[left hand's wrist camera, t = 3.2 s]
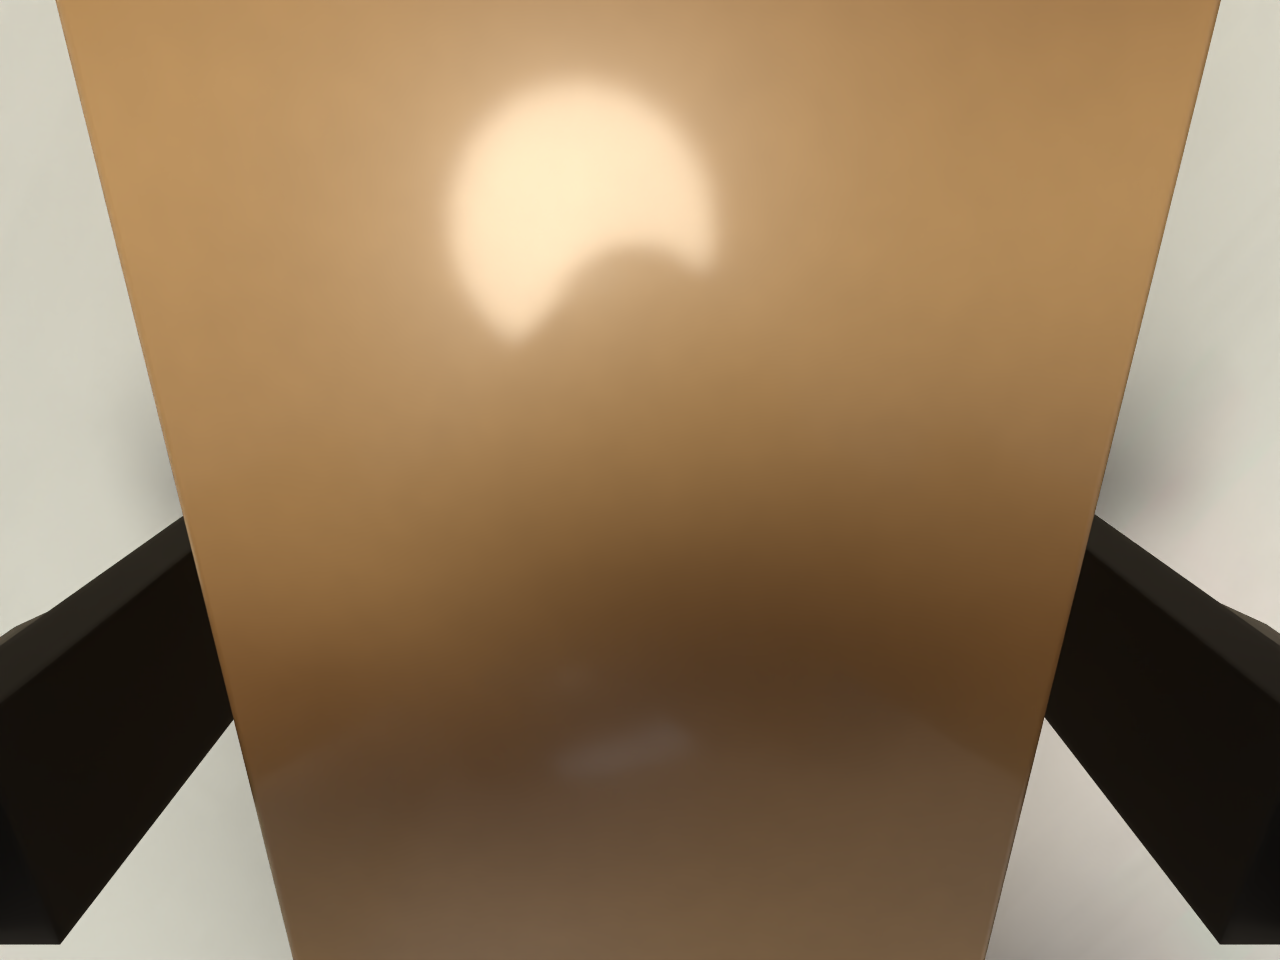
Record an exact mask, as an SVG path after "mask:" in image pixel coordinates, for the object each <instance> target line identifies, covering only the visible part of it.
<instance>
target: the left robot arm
mask: <svg viewBox="0 0 1280 960" xmlns="http://www.w3.org/2000/svg"><path fill="white" fill-rule="evenodd" d="M1044 717H1045V718H1046V720H1047V721H1048V722H1049V723H1050V725H1051V726H1052V727H1053V729H1054V730H1055V731H1056V732H1057V734H1058V735H1059V736H1060V738H1061V739H1062V740H1063V742H1064V743H1065V744H1066V745H1067V747H1068V748H1069V749H1070V751H1071V752H1072V753H1073V755H1074V756H1075V757H1076V758H1077V760H1078V761H1079V762H1080V764H1081V765H1082V766H1083V767H1084V769H1085V770H1086V771H1087V773H1088V774H1089V775H1090V777H1091V778H1092V779H1093V780H1094V782H1095V783H1096V784H1097V786H1098V787H1099V788H1100V790H1101V791H1102V792H1103V793H1104V795H1105V796H1106V797H1107V799H1108V800H1109V801H1110V803H1111V804H1112V805H1113V806H1114V808H1115V809H1116V810H1117V812H1118V813H1119V814H1120V815H1121V817H1122V818H1123V819H1124V821H1125V822H1126V823H1127V825H1128V826H1129V827H1130V828H1131V830H1132V831H1133V832H1134V834H1135V835H1136V836H1137V838H1138V839H1139V840H1140V841H1141V843H1142V844H1143V845H1144V847H1145V848H1146V849H1147V851H1148V852H1149V853H1150V854H1151V856H1152V857H1153V858H1154V860H1155V861H1156V862H1157V863H1158V865H1159V866H1160V867H1161V869H1162V870H1163V871H1164V873H1165V874H1166V875H1167V876H1168V878H1169V879H1170V880H1171V882H1172V883H1173V884H1174V886H1175V887H1176V888H1177V889H1178V891H1179V892H1180V893H1181V895H1182V896H1183V897H1184V899H1185V900H1186V901H1187V902H1188V904H1189V905H1190V906H1191V908H1192V909H1193V910H1194V911H1195V913H1196V914H1197V915H1198V917H1199V918H1200V919H1201V921H1202V922H1203V923H1204V924H1205V926H1206V927H1207V928H1208V930H1209V931H1210V932H1211V934H1212V935H1213V936H1214V937H1215V939H1216V940H1217V941H1218V943H1219V944H1280V633H1278V632H1277V631H1275V630H1274V629H1272V628H1271V627H1269V626H1268V625H1267V624H1264V623H1262V622H1260V621H1258V620H1256V619H1254V618H1251V617H1249V616H1247V615H1245V614H1243V613H1240V612H1238V611H1236V610H1234V609H1232V608H1230V607H1227V606H1225V605H1223V604H1221V603H1219V602H1218V601H1216V600H1215V599H1213V598H1212V597H1211V596H1209V595H1208V594H1206V593H1205V592H1204V591H1202V590H1201V589H1199V588H1198V587H1197V586H1195V585H1194V584H1192V583H1191V582H1189V581H1188V580H1187V579H1185V578H1184V577H1182V576H1181V575H1180V574H1178V573H1177V572H1175V571H1174V570H1173V569H1171V568H1170V567H1168V566H1167V565H1165V564H1164V563H1163V562H1161V561H1160V560H1158V559H1157V558H1156V557H1154V556H1153V555H1151V554H1150V553H1149V552H1147V551H1146V550H1144V549H1143V548H1141V547H1140V546H1139V545H1137V544H1136V543H1134V542H1133V541H1132V540H1130V539H1129V538H1127V537H1126V536H1125V535H1123V534H1122V533H1120V532H1119V531H1117V530H1116V529H1115V528H1113V527H1112V526H1110V525H1109V524H1108V523H1106V522H1105V521H1103V520H1102V519H1101V518H1099V517H1098V516H1096V515H1095V514H1094V517H1093V521H1092V526H1091V530H1090V534H1089V538H1088V542H1087V546H1086V550H1085V554H1084V558H1083V562H1082V566H1081V570H1080V574H1079V578H1078V582H1077V586H1076V591H1075V595H1074V599H1073V603H1072V607H1071V611H1070V615H1069V619H1068V623H1067V627H1066V631H1065V635H1064V639H1063V643H1062V647H1061V651H1060V656H1059V660H1058V664H1057V668H1056V672H1055V676H1054V680H1053V684H1052V688H1051V692H1050V696H1049V700H1048V704H1047V708H1046V712H1045V716H1044ZM233 719H234V718H233V714H232V710H231V706H230V702H229V698H228V694H227V690H226V686H225V682H224V678H223V674H222V670H221V666H220V662H219V658H218V654H217V650H216V646H215V642H214V638H213V634H212V630H211V626H210V622H209V617H208V613H207V609H206V605H205V601H204V597H203V593H202V589H201V585H200V581H199V577H198V573H197V569H196V565H195V561H194V557H193V553H192V549H191V545H190V541H189V537H188V533H187V529H186V525H185V521H184V517H183V516H182V517H181V518H179V519H178V520H177V521H175V522H174V523H172V524H171V525H170V526H168V527H167V528H165V529H164V530H162V531H161V532H160V533H158V534H157V535H155V536H154V537H153V538H151V539H150V540H148V541H147V542H146V543H144V544H143V545H141V546H140V547H138V548H137V549H136V550H134V551H133V552H131V553H130V554H129V555H127V556H126V557H124V558H123V559H122V560H120V561H119V562H117V563H116V564H114V565H113V566H112V567H110V568H109V569H107V570H106V571H105V572H103V573H102V574H100V575H99V576H98V577H96V578H95V579H93V580H92V581H91V582H89V583H88V584H86V585H85V586H83V587H82V588H81V589H79V590H78V591H76V592H75V593H74V594H72V595H71V596H69V597H68V598H67V599H65V600H64V601H62V602H61V603H59V604H58V605H57V606H55V607H54V608H52V609H51V610H50V611H48V612H46V613H44V614H42V615H40V616H38V617H35V618H33V619H31V620H29V621H27V622H25V623H23V624H20V625H18V626H16V627H14V628H13V629H11V630H10V631H8V632H7V633H6V634H4V635H3V636H1V637H0V944H61V943H62V941H63V940H64V939H65V937H66V936H67V935H68V934H69V932H70V931H71V930H72V928H73V927H74V926H75V924H76V923H77V922H78V921H79V919H80V918H81V917H82V915H83V914H84V913H85V911H86V910H87V909H88V908H89V906H90V905H91V904H92V902H93V901H94V900H95V898H96V897H97V896H98V895H99V893H100V892H101V891H102V889H103V888H104V887H105V886H106V884H107V883H108V882H109V880H110V879H111V878H112V876H113V875H114V874H115V873H116V871H117V870H118V869H119V867H120V866H121V865H122V863H123V862H124V861H125V860H126V858H127V857H128V856H129V854H130V853H131V852H132V850H133V849H134V848H135V847H136V845H137V844H138V843H139V841H140V840H141V839H142V838H143V836H144V835H145V834H146V832H147V831H148V830H149V828H150V827H151V826H152V825H153V823H154V822H155V821H156V819H157V818H158V817H159V815H160V814H161V813H162V812H163V810H164V809H165V808H166V806H167V805H168V804H169V802H170V801H171V800H172V799H173V797H174V796H175V795H176V793H177V792H178V791H179V790H180V788H181V787H182V786H183V784H184V783H185V782H186V780H187V779H188V778H189V777H190V775H191V774H192V773H193V771H194V770H195V769H196V767H197V766H198V765H199V764H200V762H201V761H202V760H203V758H204V757H205V756H206V755H207V753H208V752H209V751H210V749H211V748H212V747H213V745H214V744H215V743H216V742H217V740H218V739H219V738H220V736H221V735H222V734H223V732H224V731H225V730H226V729H227V727H228V726H229V725H230V723H231V722H232V721H233Z"/></svg>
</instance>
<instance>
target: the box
mask: <svg viewBox="0 0 1280 960" xmlns="http://www.w3.org/2000/svg"><path fill="white" fill-rule="evenodd" d="M1220 1H1221V0H56V4H57V8H58V12H59V16H60V20H61V24H62V28H63V32H64V36H65V40H66V44H67V48H68V52H69V56H70V60H71V64H72V68H73V73H74V77H75V81H76V85H77V89H78V93H79V97H80V101H81V105H82V109H83V113H84V117H85V121H86V125H87V129H88V133H89V137H90V141H91V145H92V149H93V153H94V157H95V161H96V165H97V169H98V173H99V177H100V181H101V186H102V190H103V194H104V198H105V202H106V206H107V210H108V214H109V218H110V222H111V226H112V230H113V234H114V238H115V242H116V246H117V250H118V254H119V258H120V262H121V266H122V270H123V274H124V278H125V282H126V286H127V290H128V295H129V299H130V303H131V307H132V311H133V315H134V319H135V323H136V327H137V331H138V335H139V339H140V343H141V347H142V351H143V355H144V359H145V363H146V367H147V371H148V375H149V379H150V383H151V387H152V391H153V395H154V399H155V404H156V408H157V412H158V416H159V420H160V424H161V428H162V432H163V436H164V440H165V444H166V448H167V452H168V456H169V460H170V464H171V468H172V472H173V476H174V480H175V484H176V488H177V492H178V496H179V500H180V504H181V508H182V513H183V517H184V521H185V525H186V529H187V533H188V537H189V541H190V545H191V549H192V553H193V557H194V561H195V565H196V569H197V573H198V577H199V581H200V585H201V589H202V593H203V597H204V601H205V605H206V609H207V613H208V617H209V622H210V626H211V630H212V634H213V638H214V642H215V646H216V650H217V654H218V658H219V662H220V666H221V670H222V674H223V678H224V682H225V686H226V690H227V694H228V698H229V702H230V706H231V710H232V714H233V718H234V722H235V726H236V731H237V735H238V739H239V743H240V747H241V751H242V755H243V759H244V763H245V767H246V771H247V775H248V779H249V783H250V787H251V791H252V795H253V799H254V803H255V807H256V811H257V815H258V819H259V823H260V827H261V831H262V835H263V839H264V844H265V848H266V852H267V856H268V860H269V864H270V868H271V872H272V876H273V880H274V884H275V888H276V892H277V896H278V900H279V904H280V908H281V912H282V916H283V920H284V924H285V928H286V932H287V936H288V940H289V944H290V948H291V953H292V957H293V960H985V956H986V952H987V948H988V944H989V940H990V936H991V932H992V928H993V924H994V920H995V916H996V912H997V907H998V903H999V899H1000V895H1001V891H1002V887H1003V883H1004V879H1005V875H1006V871H1007V867H1008V863H1009V859H1010V855H1011V851H1012V847H1013V842H1014V838H1015V834H1016V830H1017V826H1018V822H1019V818H1020V814H1021V810H1022V806H1023V802H1024V798H1025V794H1026V790H1027V786H1028V782H1029V777H1030V773H1031V769H1032V765H1033V761H1034V757H1035V753H1036V749H1037V745H1038V741H1039V737H1040V733H1041V729H1042V725H1043V721H1044V716H1045V712H1046V708H1047V704H1048V700H1049V696H1050V692H1051V688H1052V684H1053V680H1054V676H1055V672H1056V668H1057V664H1058V660H1059V656H1060V651H1061V647H1062V643H1063V639H1064V635H1065V631H1066V627H1067V623H1068V619H1069V615H1070V611H1071V607H1072V603H1073V599H1074V595H1075V591H1076V586H1077V582H1078V578H1079V574H1080V570H1081V566H1082V562H1083V558H1084V554H1085V550H1086V546H1087V542H1088V538H1089V534H1090V530H1091V526H1092V521H1093V517H1094V513H1095V509H1096V505H1097V501H1098V497H1099V493H1100V489H1101V485H1102V481H1103V477H1104V473H1105V469H1106V465H1107V461H1108V456H1109V452H1110V448H1111V444H1112V440H1113V436H1114V432H1115V428H1116V424H1117V420H1118V416H1119V412H1120V408H1121V404H1122V400H1123V396H1124V391H1125V387H1126V383H1127V379H1128V375H1129V371H1130V367H1131V363H1132V359H1133V355H1134V351H1135V347H1136V343H1137V339H1138V335H1139V331H1140V326H1141V322H1142V318H1143V314H1144V310H1145V306H1146V302H1147V298H1148V294H1149V290H1150V286H1151V282H1152V278H1153V274H1154V270H1155V266H1156V261H1157V257H1158V253H1159V249H1160V245H1161V241H1162V237H1163V233H1164V229H1165V225H1166V221H1167V217H1168V213H1169V209H1170V205H1171V201H1172V196H1173V192H1174V188H1175V184H1176V180H1177V176H1178V172H1179V168H1180V164H1181V160H1182V156H1183V152H1184V148H1185V144H1186V140H1187V135H1188V131H1189V127H1190V123H1191V119H1192V115H1193V111H1194V107H1195V103H1196V99H1197V95H1198V91H1199V87H1200V83H1201V79H1202V75H1203V70H1204V66H1205V62H1206V58H1207V54H1208V50H1209V46H1210V42H1211V38H1212V34H1213V30H1214V26H1215V22H1216V18H1217V14H1218V10H1219V5H1220Z"/></svg>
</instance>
